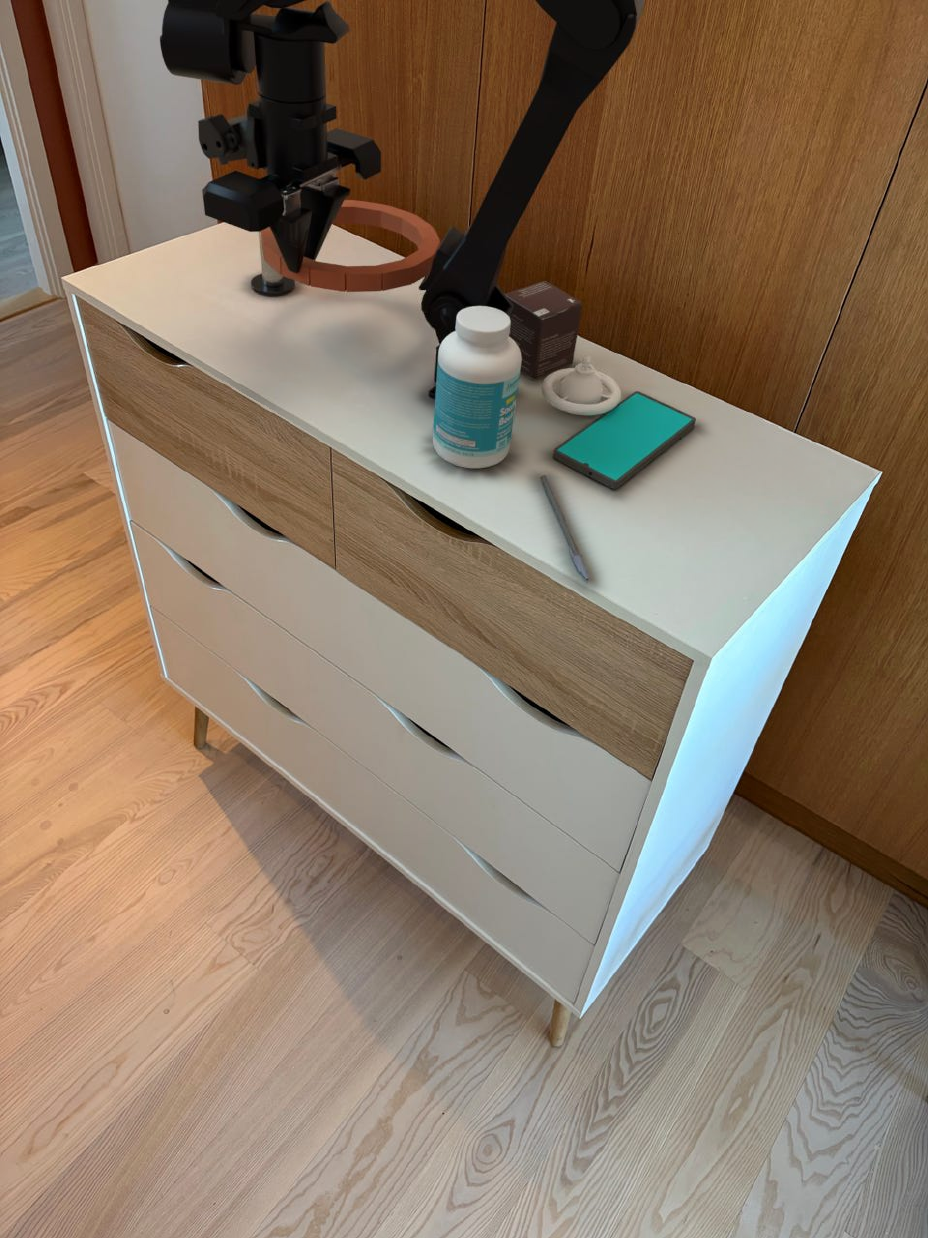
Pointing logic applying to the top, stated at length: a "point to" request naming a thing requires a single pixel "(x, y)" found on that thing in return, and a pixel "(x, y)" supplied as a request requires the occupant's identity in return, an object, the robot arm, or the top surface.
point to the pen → (566, 530)
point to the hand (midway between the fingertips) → (301, 267)
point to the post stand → (271, 280)
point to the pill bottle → (476, 389)
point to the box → (544, 328)
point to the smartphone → (624, 439)
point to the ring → (364, 276)
